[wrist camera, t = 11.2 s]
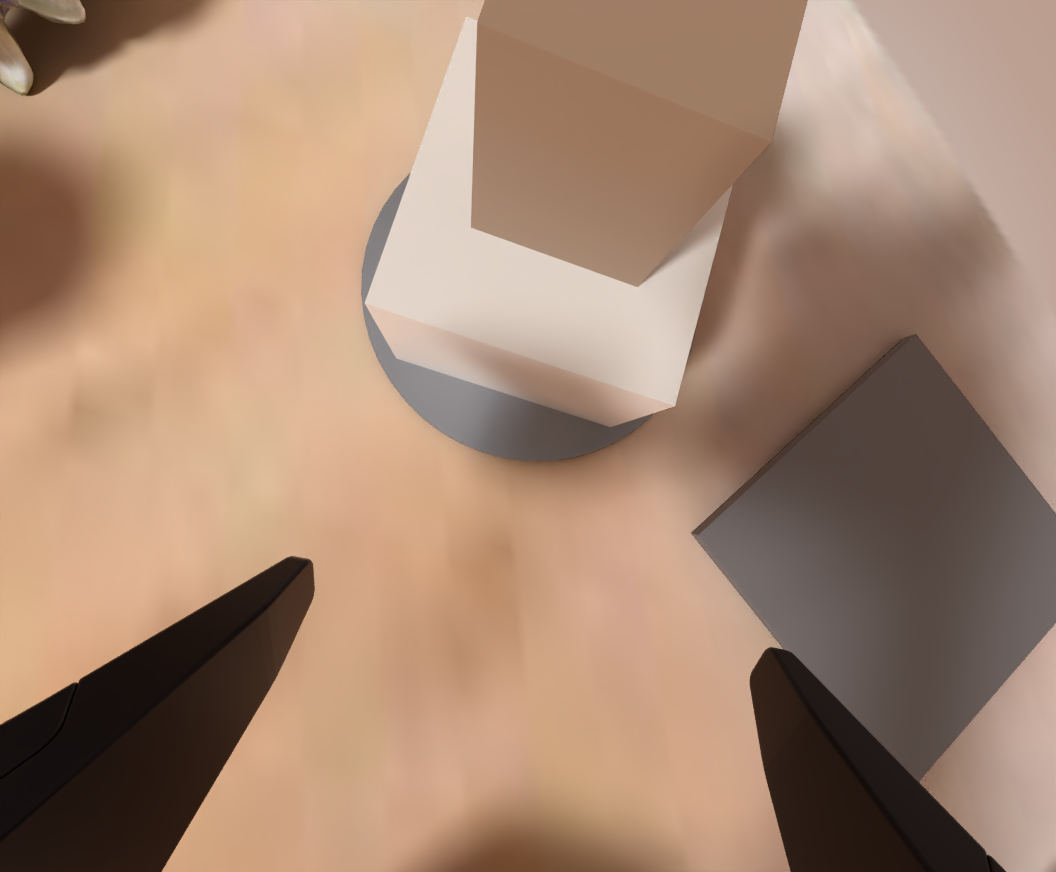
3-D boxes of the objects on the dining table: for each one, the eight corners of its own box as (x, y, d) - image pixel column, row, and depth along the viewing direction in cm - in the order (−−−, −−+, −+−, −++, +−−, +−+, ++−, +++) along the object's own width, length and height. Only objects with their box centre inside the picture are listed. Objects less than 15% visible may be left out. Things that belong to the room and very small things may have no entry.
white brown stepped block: (610, 427, 19) (841, 352, 8) (396, 358, 18) (276, 148, 7) (665, 230, 20) (943, -107, 9) (465, 155, 20) (468, -338, 8)
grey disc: (397, 492, 18) (380, 497, 15) (335, 153, 19) (303, 72, 15) (723, 427, 21) (783, 416, 17) (656, 124, 21) (699, 46, 17)
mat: (893, 786, 20) (906, 795, 20) (691, 533, 20) (698, 535, 19) (1083, 568, 22) (1100, 571, 22) (904, 338, 22) (916, 334, 22)
